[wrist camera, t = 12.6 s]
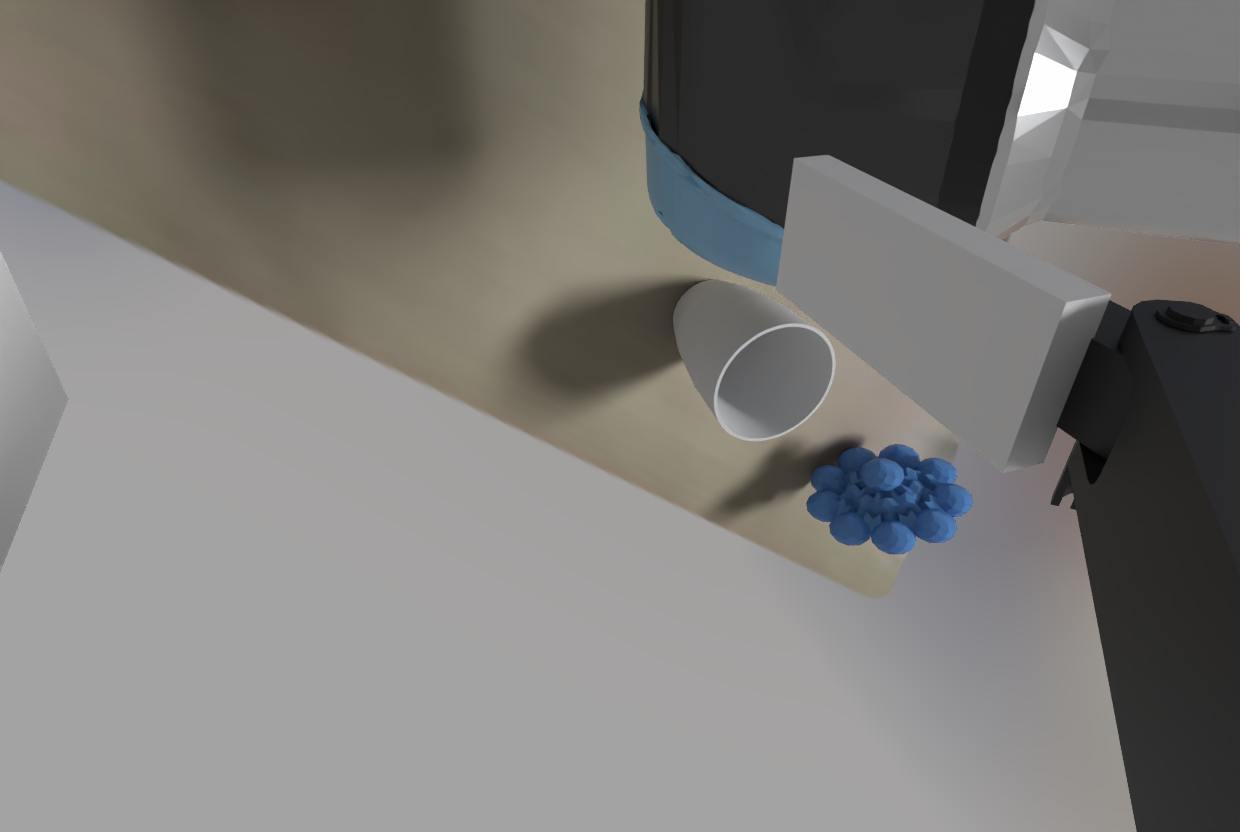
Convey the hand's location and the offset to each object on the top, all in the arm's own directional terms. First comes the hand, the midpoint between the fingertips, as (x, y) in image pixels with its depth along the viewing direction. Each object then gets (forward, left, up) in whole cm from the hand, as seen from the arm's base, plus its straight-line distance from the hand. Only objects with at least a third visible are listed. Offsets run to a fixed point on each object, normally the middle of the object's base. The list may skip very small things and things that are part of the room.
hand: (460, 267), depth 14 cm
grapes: (-32, +37, -31) cm, 58 cm away
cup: (-19, +21, -31) cm, 42 cm away
